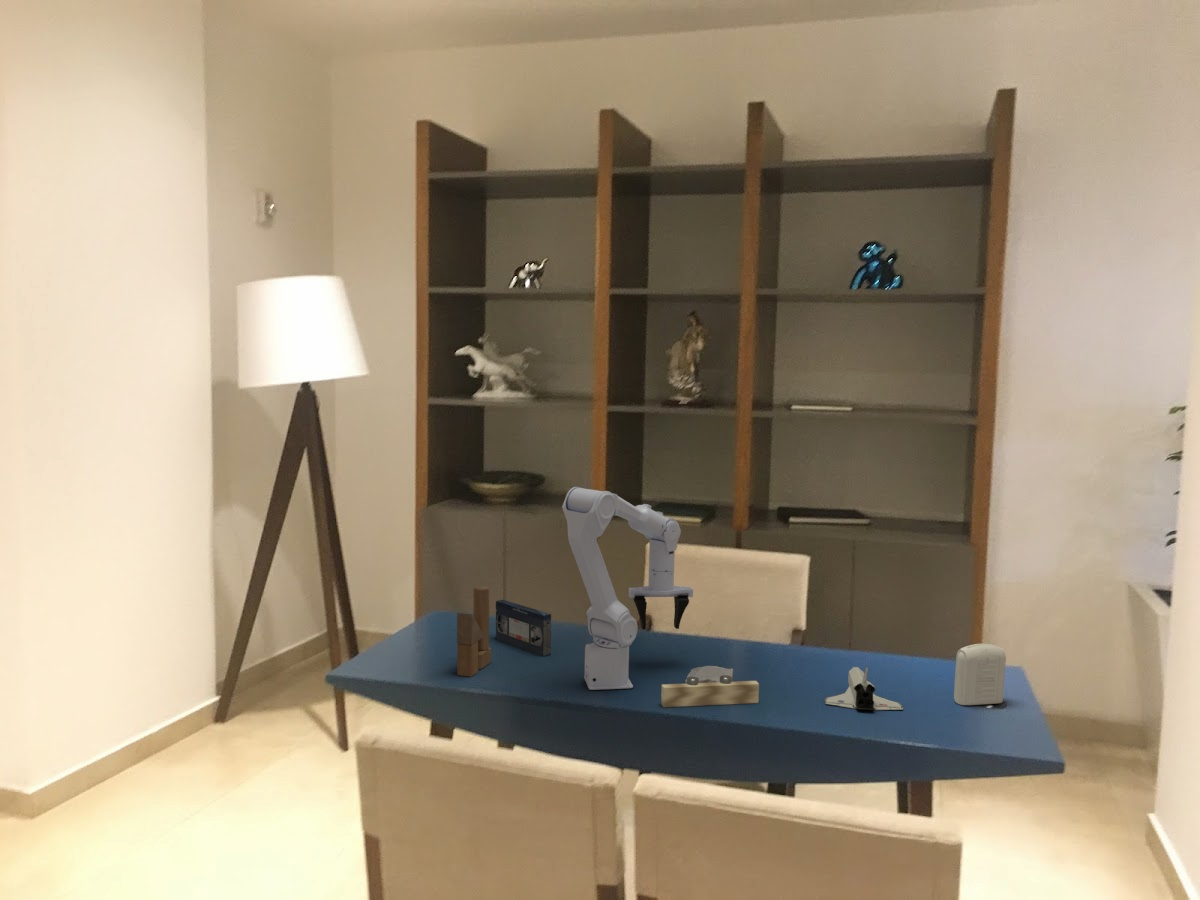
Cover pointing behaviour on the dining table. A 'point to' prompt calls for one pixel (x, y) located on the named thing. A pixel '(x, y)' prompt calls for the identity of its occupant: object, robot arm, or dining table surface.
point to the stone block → (710, 673)
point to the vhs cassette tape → (523, 627)
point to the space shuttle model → (861, 694)
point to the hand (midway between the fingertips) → (659, 628)
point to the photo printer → (979, 675)
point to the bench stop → (709, 692)
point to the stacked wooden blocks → (474, 635)
